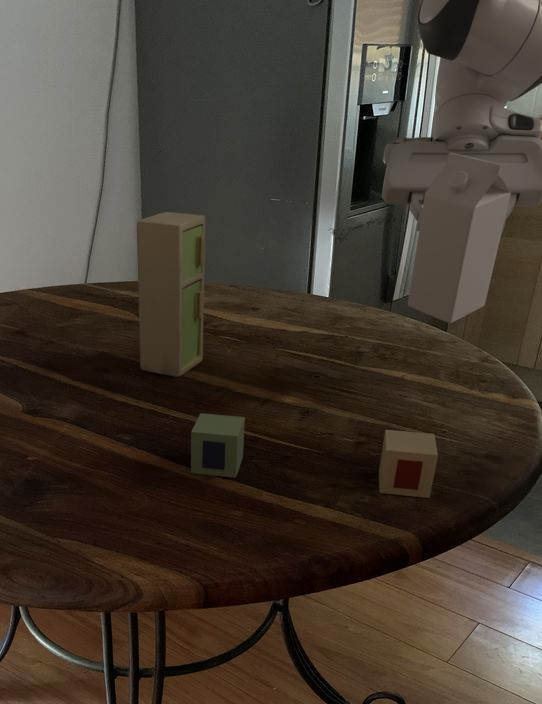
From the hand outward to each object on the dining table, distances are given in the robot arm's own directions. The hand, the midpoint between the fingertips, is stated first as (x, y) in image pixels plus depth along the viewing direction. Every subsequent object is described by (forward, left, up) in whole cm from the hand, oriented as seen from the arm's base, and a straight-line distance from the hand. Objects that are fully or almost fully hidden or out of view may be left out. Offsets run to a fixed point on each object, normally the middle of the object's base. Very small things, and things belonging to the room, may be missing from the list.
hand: (460, 229), depth 94 cm
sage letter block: (+25, +32, -20) cm, 46 cm away
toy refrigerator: (+37, +2, -20) cm, 42 cm away
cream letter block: (+5, +32, -20) cm, 39 cm away
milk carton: (0, -1, -10) cm, 10 cm away
